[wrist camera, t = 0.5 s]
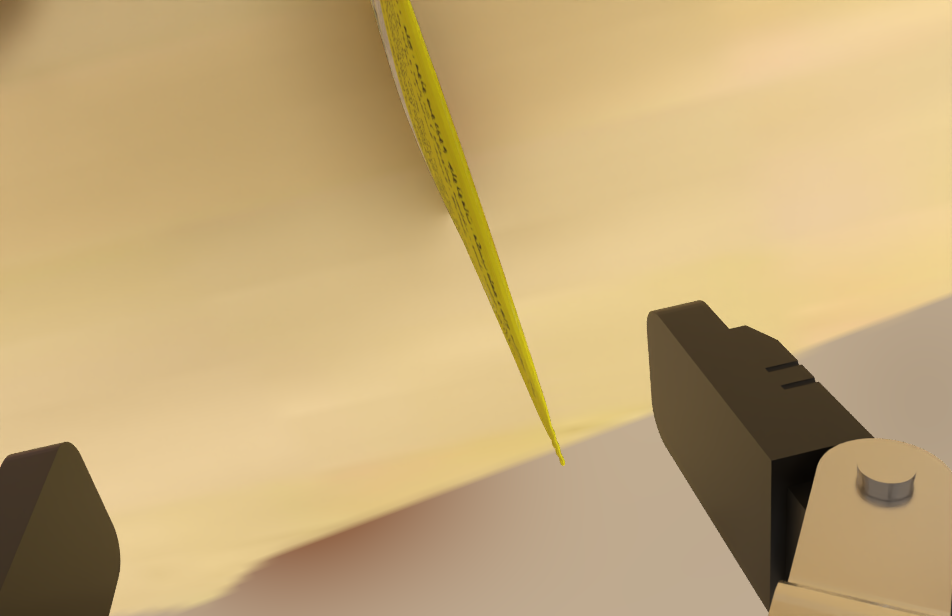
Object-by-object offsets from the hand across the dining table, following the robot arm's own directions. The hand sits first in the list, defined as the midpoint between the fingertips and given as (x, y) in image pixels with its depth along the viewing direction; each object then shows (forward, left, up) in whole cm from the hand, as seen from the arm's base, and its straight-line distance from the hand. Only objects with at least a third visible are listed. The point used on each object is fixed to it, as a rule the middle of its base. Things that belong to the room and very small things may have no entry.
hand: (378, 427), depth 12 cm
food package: (0, +3, -29) cm, 29 cm away
